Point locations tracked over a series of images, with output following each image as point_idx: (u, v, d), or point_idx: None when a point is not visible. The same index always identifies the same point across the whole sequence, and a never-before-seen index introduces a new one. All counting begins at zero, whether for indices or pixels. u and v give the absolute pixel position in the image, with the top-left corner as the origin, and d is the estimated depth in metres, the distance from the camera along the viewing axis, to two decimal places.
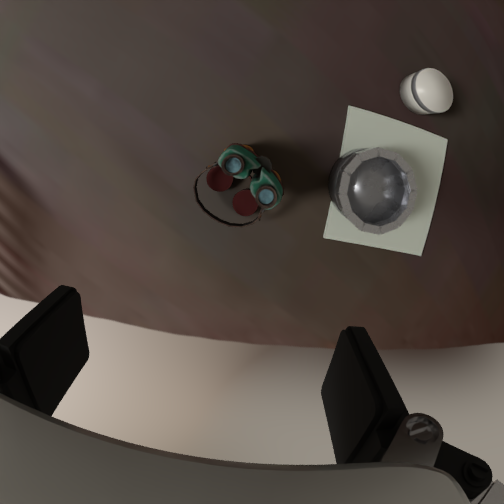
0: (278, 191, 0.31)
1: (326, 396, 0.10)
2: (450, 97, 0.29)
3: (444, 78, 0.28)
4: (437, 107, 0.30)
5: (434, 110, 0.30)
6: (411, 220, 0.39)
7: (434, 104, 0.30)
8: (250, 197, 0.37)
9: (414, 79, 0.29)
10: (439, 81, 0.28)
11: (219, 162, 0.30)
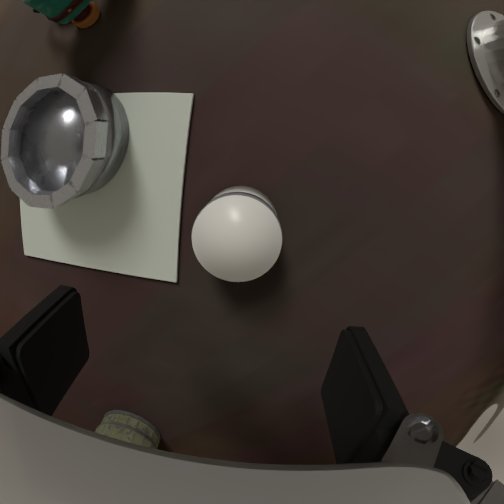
0: None
1: (326, 396, 0.10)
2: (231, 275, 0.21)
3: (267, 263, 0.21)
4: (201, 244, 0.20)
5: (193, 237, 0.20)
6: (54, 228, 0.25)
7: (205, 237, 0.20)
8: None
9: (248, 195, 0.20)
10: (257, 251, 0.20)
11: None
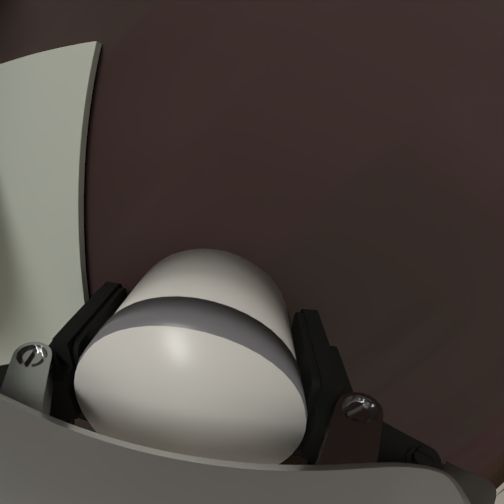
0: None
1: None
2: None
3: (265, 462, 0.07)
4: (104, 420, 0.07)
5: (83, 405, 0.07)
6: None
7: (107, 411, 0.06)
8: None
9: (208, 321, 0.06)
10: (240, 446, 0.07)
11: None
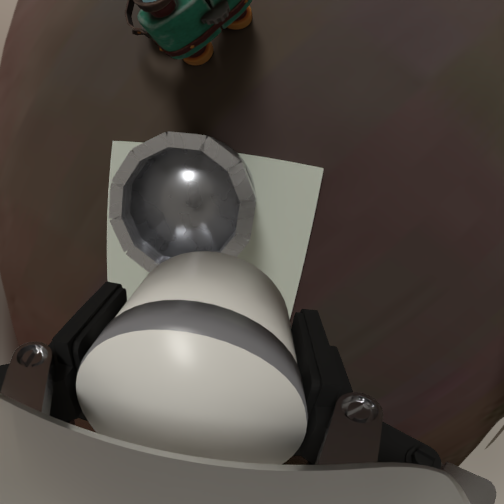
0: (165, 22, 0.13)
1: None
2: None
3: None
4: (105, 423, 0.07)
5: (85, 408, 0.07)
6: None
7: (109, 413, 0.07)
8: None
9: (209, 325, 0.06)
10: (241, 448, 0.07)
11: None
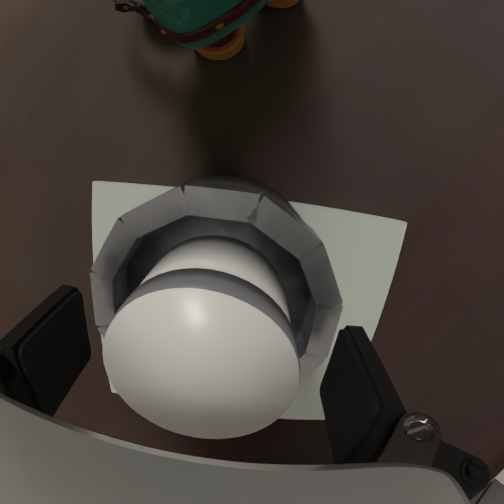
0: None
1: (324, 395, 0.10)
2: (193, 430, 0.09)
3: (266, 416, 0.09)
4: (126, 380, 0.08)
5: (108, 366, 0.08)
6: None
7: (131, 370, 0.08)
8: None
9: (220, 285, 0.08)
10: (244, 399, 0.09)
11: None
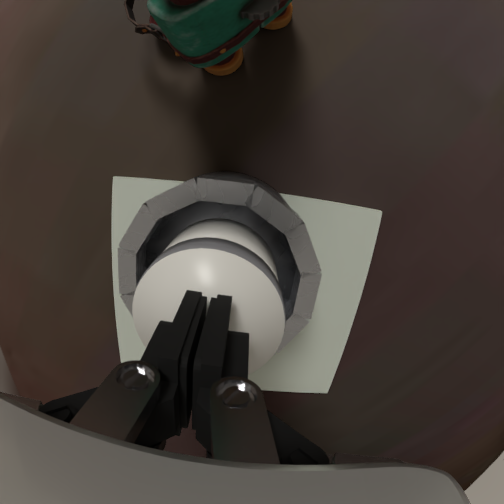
0: (192, 12, 0.09)
1: None
2: None
3: (260, 357, 0.12)
4: (149, 327, 0.12)
5: (136, 316, 0.11)
6: None
7: (154, 317, 0.11)
8: None
9: (225, 247, 0.11)
10: None
11: None
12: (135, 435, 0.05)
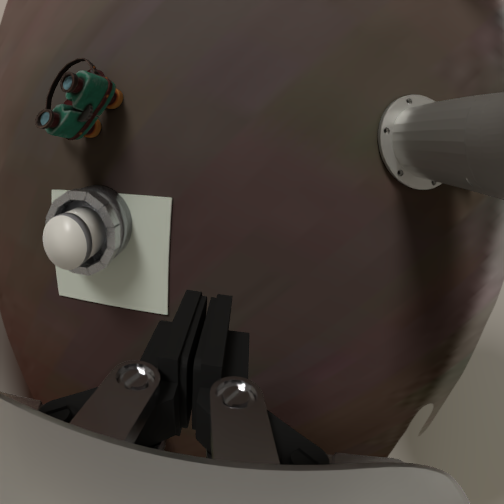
0: (56, 130, 0.25)
1: None
2: (64, 265, 0.29)
3: (80, 257, 0.28)
4: (48, 246, 0.28)
5: (44, 242, 0.28)
6: (82, 279, 0.39)
7: (49, 241, 0.28)
8: None
9: (67, 214, 0.27)
10: (74, 249, 0.28)
11: (79, 71, 0.23)
12: (135, 435, 0.05)
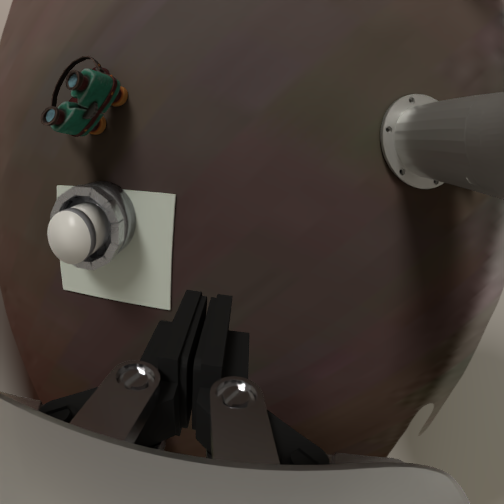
0: (61, 127, 0.26)
1: None
2: (68, 260, 0.29)
3: (84, 252, 0.29)
4: (52, 241, 0.29)
5: (48, 236, 0.29)
6: (86, 273, 0.40)
7: (53, 236, 0.28)
8: None
9: (72, 210, 0.28)
10: (78, 244, 0.29)
11: (84, 69, 0.24)
12: (135, 435, 0.05)
